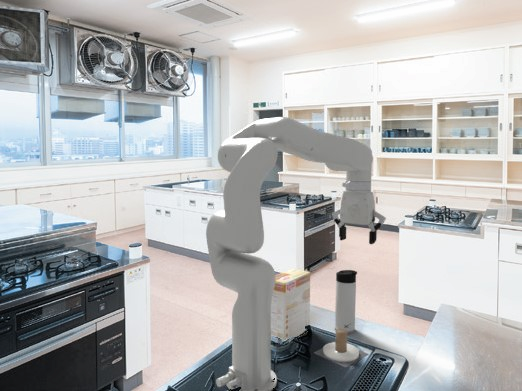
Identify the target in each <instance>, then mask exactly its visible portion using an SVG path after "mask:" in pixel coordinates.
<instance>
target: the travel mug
mask: <svg viewBox="0 0 522 391" xmlns="http://www.w3.org/2000/svg"><path fill="white" fill-rule="evenodd" d="M357 274H358V271H357V270H353V269H345V270H339V271H337V272H336V279H335V307H334V308H335V312H334V330H335V332H336V330H337V329H344V330H346V331H347V335H351V334H354V333H355V331H356V330H355V329H356V299H357V297H356V296H357V295H356V293H357Z"/></svg>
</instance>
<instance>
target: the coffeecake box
mask: <svg viewBox="0 0 522 391" xmlns="http://www.w3.org/2000/svg"><path fill="white" fill-rule="evenodd" d="M275 276H276V279H275V286H274V290H273V296H272V304H271V336H274V337H278V338H280V339H282V340H286V339H289V338H292V337H297V336H299V335H300V334H302V333H303V332H304V331H305V330H306V329H305V326H306V325H310V321H311V318H310V317H311V316H310V315H311V314H310V313H311V310H310V308H311V271H306V270H302V269H299V268H298V269H297V268H291V269H289V270H286V271H284V272H281V273H278V274H275ZM310 326H311V325H310ZM299 337H300V336H299Z"/></svg>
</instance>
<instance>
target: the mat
mask: <svg viewBox="0 0 522 391" xmlns="http://www.w3.org/2000/svg"><path fill="white" fill-rule="evenodd" d="M358 350H359V357H358V359H357V360H355V361H352V362H337V361H333V360H330V359H328V358H327V357H326V356H325V355H324V354H323V347H321V348H320V349H318V350H316V351H314V352H313V354H315V355H317V356H319V357H321V358H323V359H325V360H327V361H330V362H331V363H334V364H336V365H338V366H340V367H343V368H347V367H349V366H351V365H353V364H355V363H356V362H358V361H359V360H361V359H363V358H365V357H367V356H368V355H369V353H367V352H364V351H362V350H360V349H358Z"/></svg>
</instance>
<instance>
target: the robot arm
mask: <svg viewBox="0 0 522 391" xmlns="http://www.w3.org/2000/svg"><path fill="white" fill-rule="evenodd" d="M279 152H283V153H285V154H288V155H291V156H295V157H297V158H300V159H303V160H304V161H308V162H313V163H324V165H325V166H326V167H327V168H328V169H329V170H331V171H334V172H346V175H345V177H346V179H345V180H346V181H345V182H343V183H342V184H341V185H342V188H345V190H344V191H343V192H342V196H341V200H340V201H341V202H340V207H339V208H340V209H338V210H336V211H333V212H332V213H331V216H332V219H333V221H334V223H335V224H336V225H337V227H338V237H339V241H344V240H346V239H347V227H346V225H347V224H353V225H362V226H366V225H367V226H368V228H369V229H370V231H369V236H368V240H369V241H368V243H369V245H373V244H375V243H376V242H377V237H378V236H377V234H378V232H377V231H379V229H380V228H382V226H383V225H384V223H385V222H386V220H387V217H386V216H385V215H382V214H381V213H379V212H378V211H376V204H375V196H374V192H373V191H372V171H373V169H372V167H373V166H372V165H373V160H374V156H373V151H372V148H371V147H368V146H367V145H366V144H364V143H362V142H360V141H359V140H356V139H353V138H349V137H346V136H341V135H337V134H333V133H329V132H325V131H320V130H318V129H315V128H314V127H311V126H308V125H306V124H305V123H302V122H301V121H300V122H299V121H298V120H295V119H293V118H291V117H287V116H277V117H269V118H267V117H266V118H262V119H258V120H255V121H254V122H252V123H251V124H248V125H247V126H245V127H244V128H243V129H241V130H239V131H238V132H237V133H235V134H233V135H231V136H230V137H229V138H227V139H225V140H224V141H223V142H222V144H221V145H220V146H219V148H218V149H217V161H218V163H219V166H220V167H221V168H222V170H224V171H226V172H228V173H229V175H228V176H227V179H226V181H225V183H224V186H223V196H222V197H223V210H218V211H216V212H214V214H213V215H211V217H210V219H209V220H208V222H207V225H206V230H205V232H206V233H205V234H206V235H205V236H206V244H207V252H208V256H209V257H208V258H209V263H210V269H211V273H212V276H213V278H214V280H215V281H216V283H217V284H219V285H220V286H222V287H223V288H226V289H228V290H231V291H234V292H235V293H237V298H236V300H235V303H234V305H233V308H232V312H231V345H232V346H231V351H232V352H231V362H232V363H231V366H229V367H228V372H226V374H225V375H222V376H221V377H218V378H216V379H215V384H216V387H217V388H221V387H223V386H225V385H226V387H227V388H228V390H230V389H233V388H236V387H241V389H240V390H239V391H273V390H274V389H275V388H276V386H277V382H278V376H277V374H276V373H275V372H274V371H273V370H272V369H271V368H272V367H271V365H272V360H271V359H272V355H271V354H272V351H271V350H272V347H271V346H272V345H271V344H272V342H271V304H272V296H273V290H274V286H275V279H276V271H275V268H274V267H273V266H272V264H271V263H270V262H269V261H267V260H265V259H263V258H261V257H260V256H256V255H252V254H254V253H256V252H258V251H260V250H261V249H262V247H263V246H264V242H265V231H264V230H265V229H264V222H263V215H262V207H261V189H262V186H263V183H264V181H265V179H266V178H267V176H268V174H269V173H270V172H271V171H272V170H273V168H274V167H275V165H276V164H277V163H276V162H277V160H278V155H279V154H278V153H279ZM376 219H378V222H377V223H376V222H375V221H376ZM274 378H275V380H273V379H274ZM273 381H274V382H273ZM273 388H274V389H273Z"/></svg>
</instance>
